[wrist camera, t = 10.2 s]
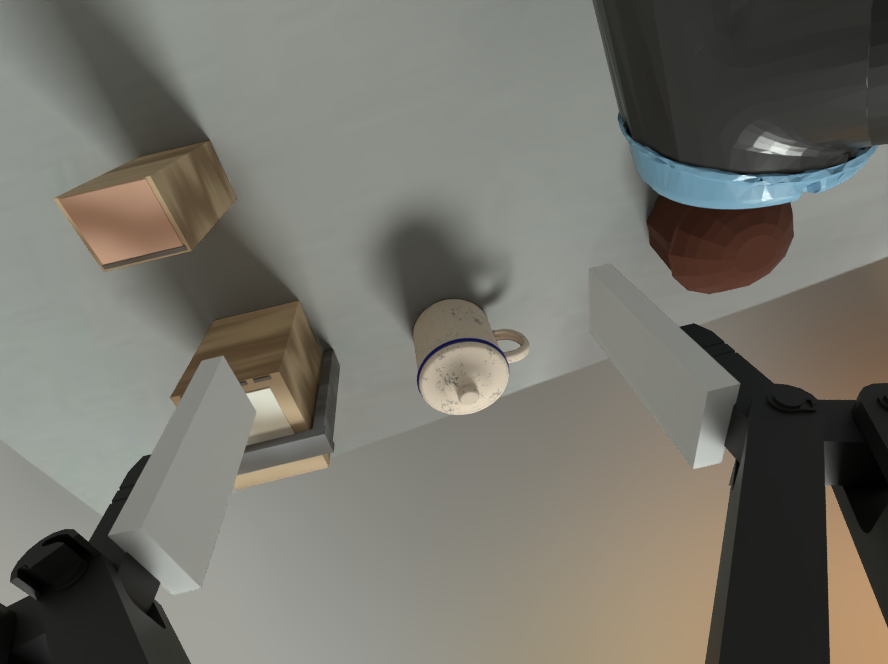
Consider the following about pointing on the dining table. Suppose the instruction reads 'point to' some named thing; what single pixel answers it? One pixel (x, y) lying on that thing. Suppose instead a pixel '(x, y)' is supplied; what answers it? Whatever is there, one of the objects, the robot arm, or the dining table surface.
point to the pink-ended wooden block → (150, 206)
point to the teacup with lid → (462, 357)
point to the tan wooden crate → (276, 389)
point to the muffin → (719, 243)
